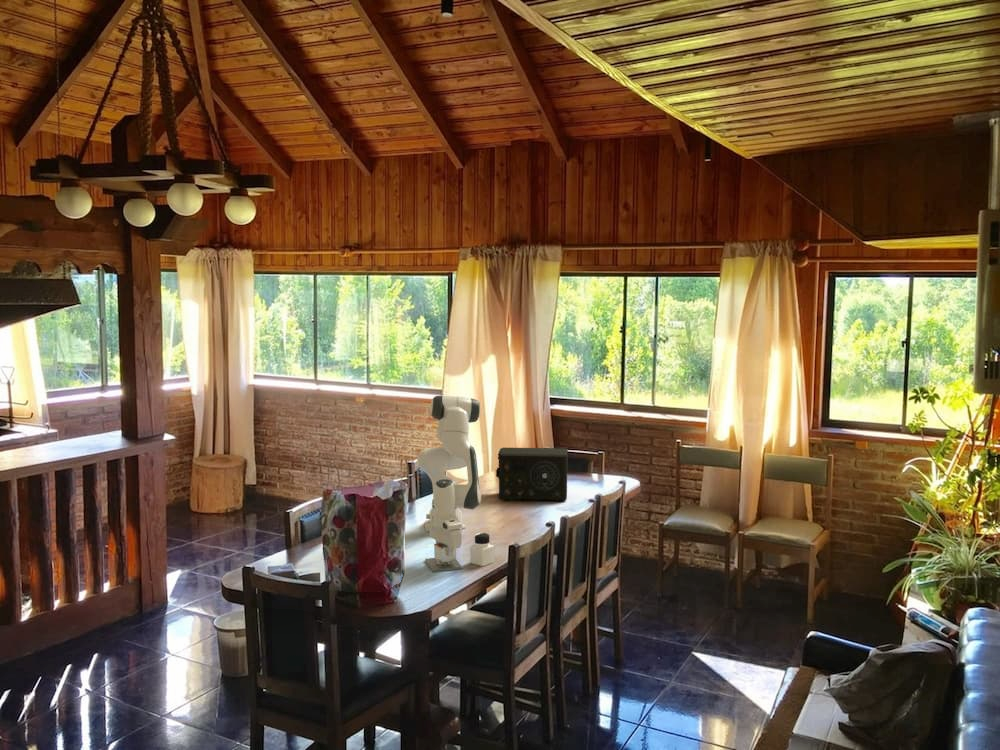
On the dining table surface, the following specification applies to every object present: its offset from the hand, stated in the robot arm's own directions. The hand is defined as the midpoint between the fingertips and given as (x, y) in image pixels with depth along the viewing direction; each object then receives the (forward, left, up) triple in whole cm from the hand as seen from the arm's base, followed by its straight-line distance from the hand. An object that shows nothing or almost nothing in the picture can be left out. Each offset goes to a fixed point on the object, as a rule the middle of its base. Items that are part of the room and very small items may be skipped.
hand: (445, 553), depth 353 cm
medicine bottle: (+2, +15, -5) cm, 16 cm away
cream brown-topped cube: (0, 0, -2) cm, 2 cm away
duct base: (0, -1, -5) cm, 5 cm away
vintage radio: (-89, +69, -5) cm, 113 cm away
